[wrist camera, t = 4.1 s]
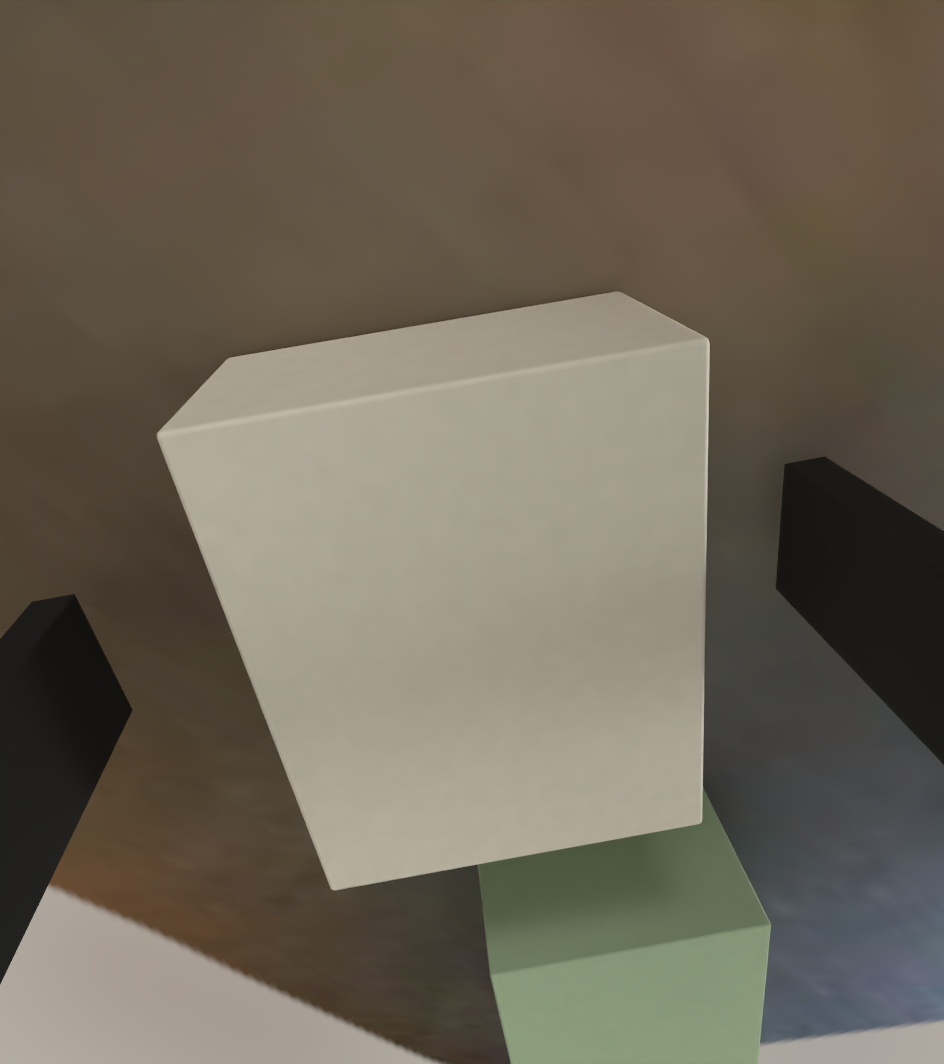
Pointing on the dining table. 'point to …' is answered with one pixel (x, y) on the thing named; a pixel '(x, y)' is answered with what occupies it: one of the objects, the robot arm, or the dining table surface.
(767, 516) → the dining table surface
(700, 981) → the green rectangular block
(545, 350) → the middle pad
